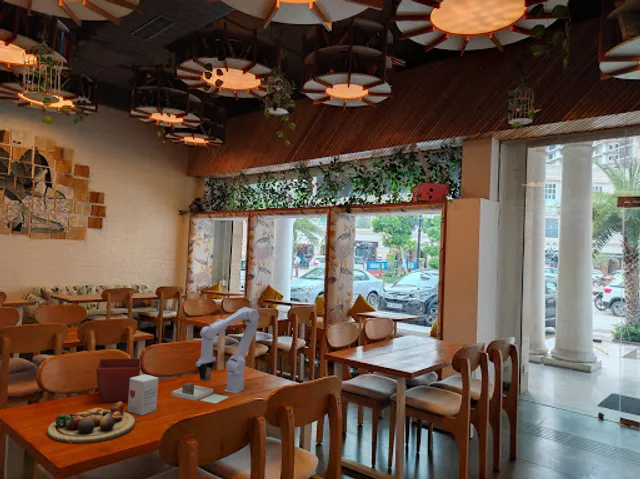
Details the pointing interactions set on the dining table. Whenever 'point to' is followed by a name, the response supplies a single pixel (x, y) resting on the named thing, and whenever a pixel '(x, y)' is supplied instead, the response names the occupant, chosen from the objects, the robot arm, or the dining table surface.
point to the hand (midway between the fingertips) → (205, 377)
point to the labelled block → (206, 375)
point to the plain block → (188, 388)
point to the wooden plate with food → (92, 425)
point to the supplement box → (142, 394)
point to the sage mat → (214, 398)
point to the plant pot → (116, 378)
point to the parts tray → (198, 393)
